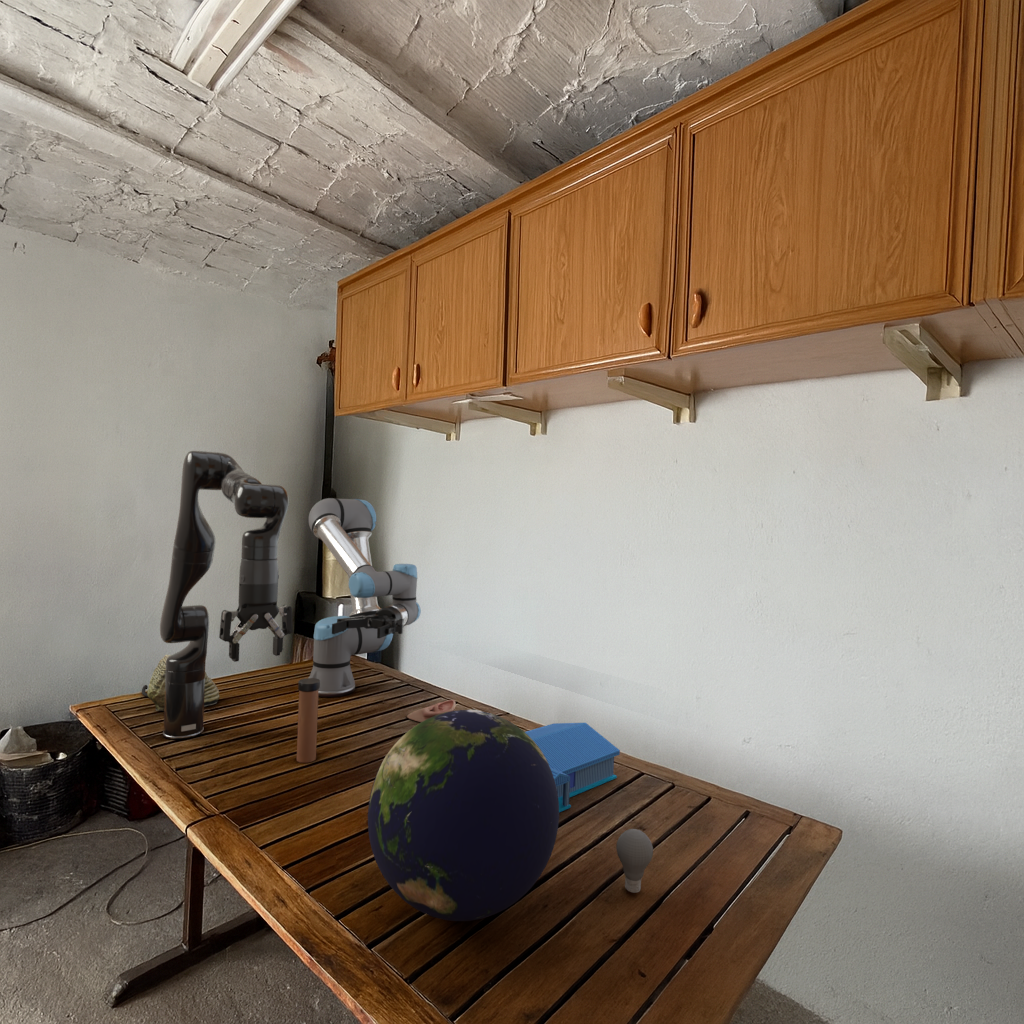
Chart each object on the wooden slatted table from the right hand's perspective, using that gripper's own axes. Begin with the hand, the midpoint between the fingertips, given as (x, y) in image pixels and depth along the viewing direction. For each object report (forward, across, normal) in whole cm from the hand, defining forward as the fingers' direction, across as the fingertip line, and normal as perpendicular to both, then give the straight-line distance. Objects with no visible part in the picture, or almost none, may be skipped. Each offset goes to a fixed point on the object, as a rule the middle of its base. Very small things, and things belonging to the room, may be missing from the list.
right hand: (355, 631), depth 171 cm
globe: (+59, -52, -28) cm, 84 cm away
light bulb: (+47, -78, -28) cm, 96 cm away
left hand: (+41, +1, +2) cm, 41 cm away
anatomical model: (-19, -15, -27) cm, 36 cm away
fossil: (0, +55, -26) cm, 61 cm away
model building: (+15, -53, -28) cm, 62 cm away
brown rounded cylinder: (+20, +1, -27) cm, 34 cm away
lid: (+20, +1, -9) cm, 22 cm away
